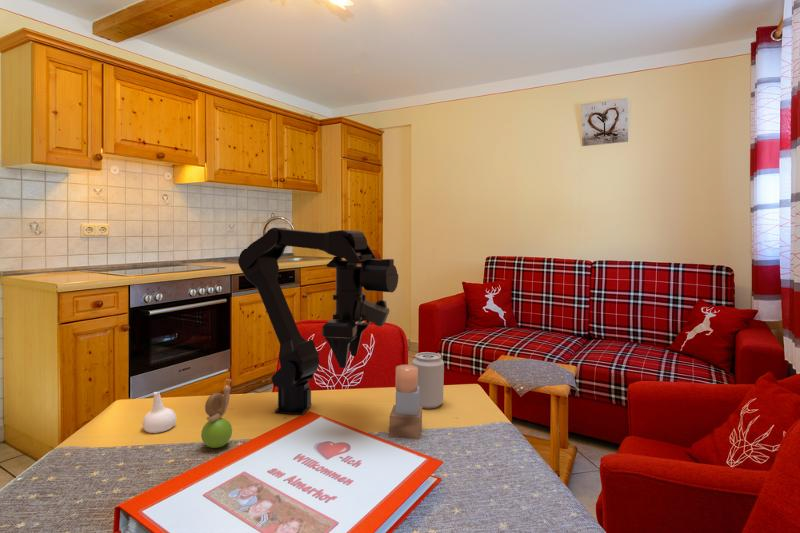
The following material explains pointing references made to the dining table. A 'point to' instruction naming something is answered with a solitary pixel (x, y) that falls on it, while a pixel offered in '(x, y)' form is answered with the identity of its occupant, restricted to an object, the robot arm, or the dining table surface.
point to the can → (430, 379)
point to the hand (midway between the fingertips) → (348, 361)
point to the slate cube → (407, 403)
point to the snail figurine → (217, 420)
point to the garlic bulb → (159, 417)
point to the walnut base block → (405, 424)
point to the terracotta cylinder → (406, 378)
